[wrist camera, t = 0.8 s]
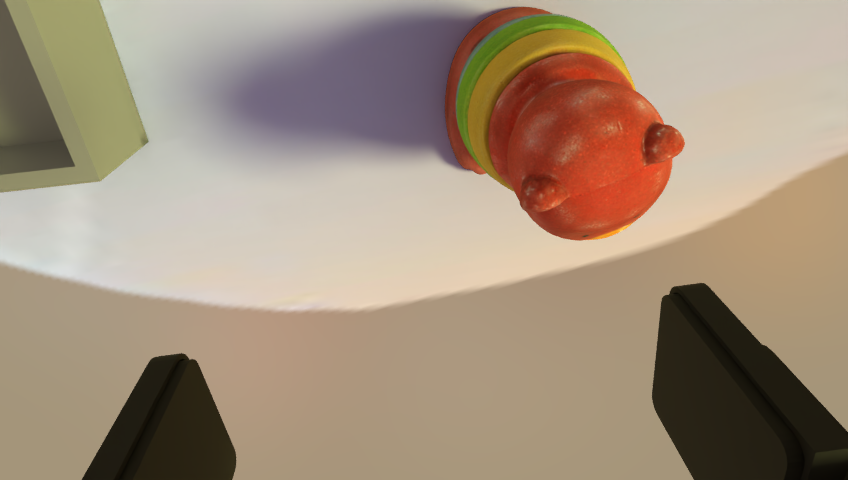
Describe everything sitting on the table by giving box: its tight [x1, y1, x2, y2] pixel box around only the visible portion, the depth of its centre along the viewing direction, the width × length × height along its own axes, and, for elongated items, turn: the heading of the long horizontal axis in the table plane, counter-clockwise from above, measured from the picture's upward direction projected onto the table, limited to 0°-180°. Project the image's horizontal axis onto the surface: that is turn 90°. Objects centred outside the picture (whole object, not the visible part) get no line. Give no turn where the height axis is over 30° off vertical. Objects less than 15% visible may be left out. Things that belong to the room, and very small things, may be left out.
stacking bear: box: [445, 7, 685, 240], centre depth 29 cm, size 11×10×18 cm
